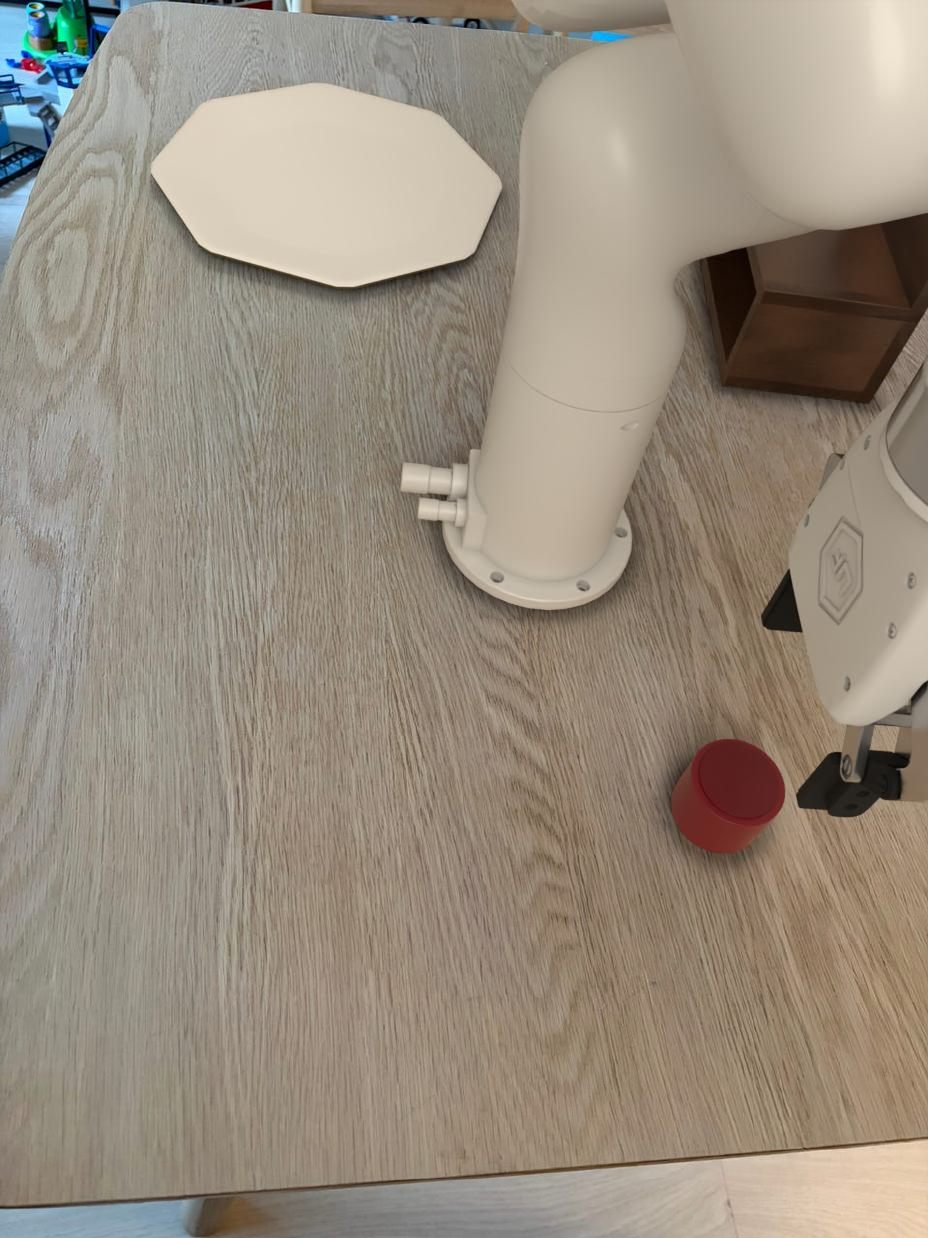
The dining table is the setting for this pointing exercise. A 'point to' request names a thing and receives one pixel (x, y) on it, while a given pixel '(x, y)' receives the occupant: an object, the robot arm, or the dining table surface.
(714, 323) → the shelf
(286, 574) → the dining table surface
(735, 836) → the cap
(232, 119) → the plate
